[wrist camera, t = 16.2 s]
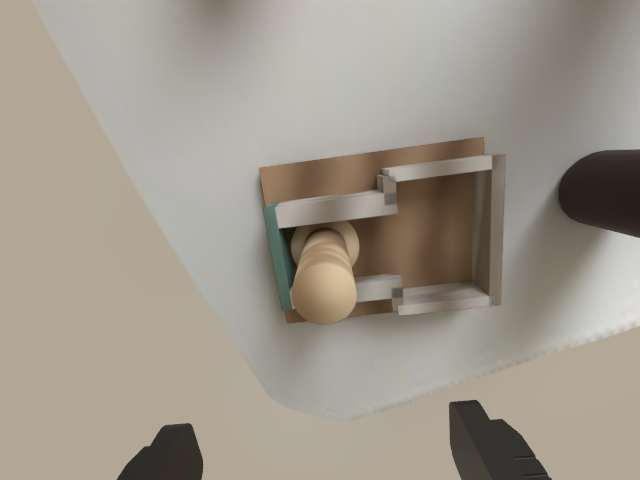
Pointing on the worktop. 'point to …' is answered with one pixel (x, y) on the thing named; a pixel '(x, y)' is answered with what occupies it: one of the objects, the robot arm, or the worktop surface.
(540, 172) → the worktop surface
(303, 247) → the keyhole peg
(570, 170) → the bottle
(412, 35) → the worktop surface
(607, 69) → the worktop surface
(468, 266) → the brown shallow boxy piece
